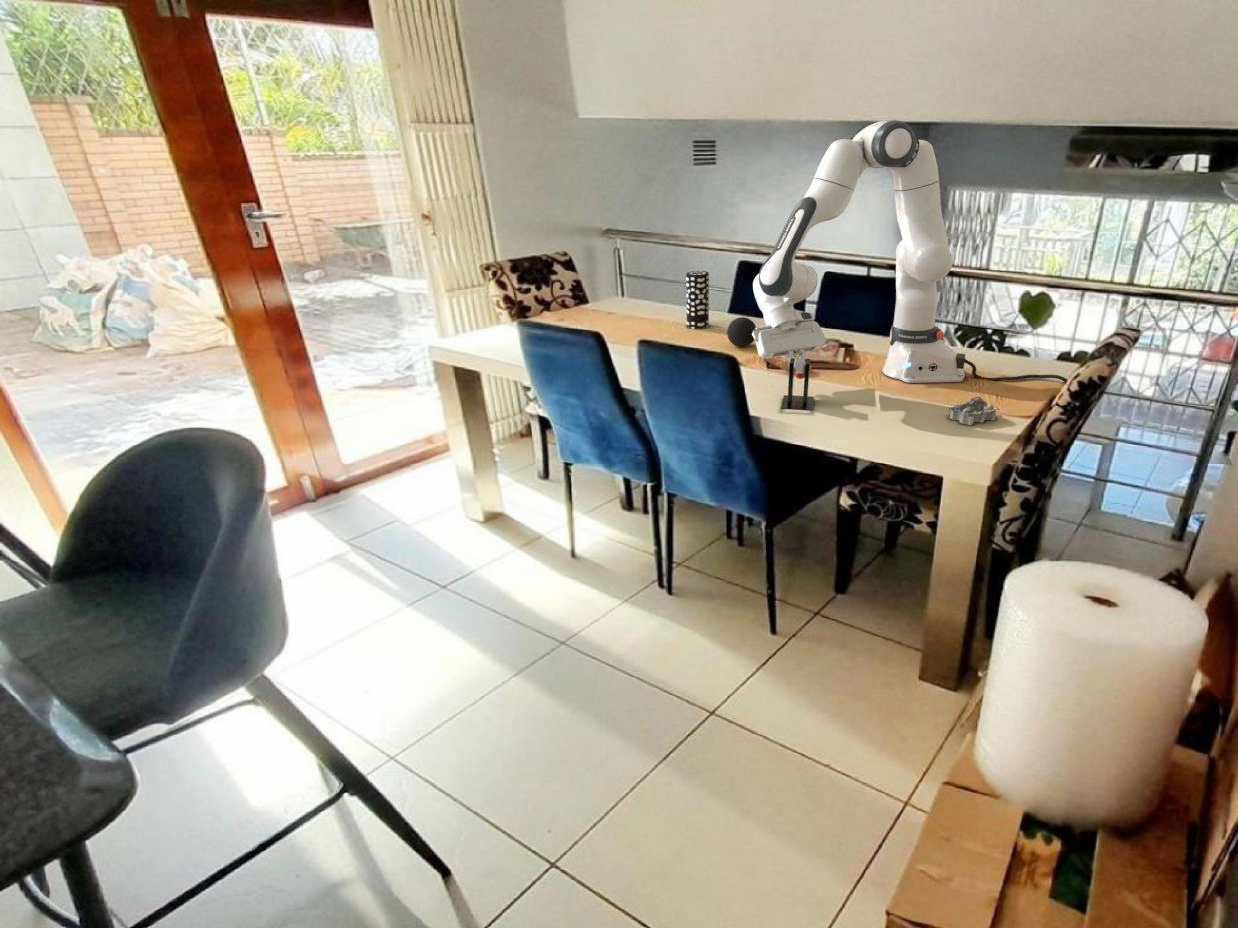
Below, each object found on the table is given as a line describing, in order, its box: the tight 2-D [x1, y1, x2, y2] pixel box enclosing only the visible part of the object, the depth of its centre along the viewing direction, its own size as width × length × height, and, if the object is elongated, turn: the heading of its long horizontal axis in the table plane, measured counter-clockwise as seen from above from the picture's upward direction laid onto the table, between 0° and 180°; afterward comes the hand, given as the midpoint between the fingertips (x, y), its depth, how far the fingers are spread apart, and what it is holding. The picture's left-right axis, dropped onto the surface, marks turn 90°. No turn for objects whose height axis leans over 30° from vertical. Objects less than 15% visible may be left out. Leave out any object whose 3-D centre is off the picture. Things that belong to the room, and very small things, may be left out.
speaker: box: [726, 316, 757, 348], centre depth 240 cm, size 10×10×10 cm
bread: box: [762, 354, 806, 375], centre depth 218 cm, size 6×19×6 cm, turn 20°
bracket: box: [780, 358, 815, 412], centre depth 187 cm, size 10×8×13 cm
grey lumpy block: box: [947, 395, 1000, 426], centre depth 176 cm, size 11×8×4 cm
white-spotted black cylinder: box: [685, 270, 710, 330], centre depth 265 cm, size 8×8×20 cm
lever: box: [794, 362, 805, 380], centre depth 190 cm, size 13×3×3 cm, turn 165°
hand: (800, 366), depth 194 cm, fingers closed, pressing on lever
